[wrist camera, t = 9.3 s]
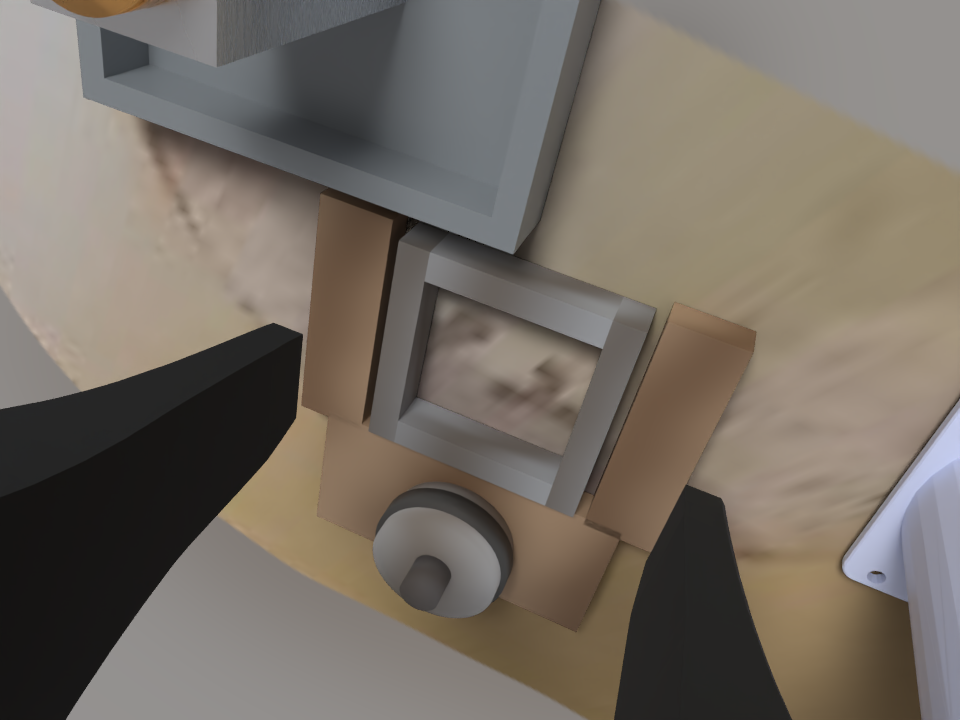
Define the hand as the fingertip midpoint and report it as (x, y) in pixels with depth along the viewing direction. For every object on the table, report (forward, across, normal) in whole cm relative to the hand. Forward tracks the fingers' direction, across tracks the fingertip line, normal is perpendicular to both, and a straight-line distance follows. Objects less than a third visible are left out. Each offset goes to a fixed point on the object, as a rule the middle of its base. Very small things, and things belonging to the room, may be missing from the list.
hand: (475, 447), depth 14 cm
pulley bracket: (+10, +2, +8) cm, 13 cm away
